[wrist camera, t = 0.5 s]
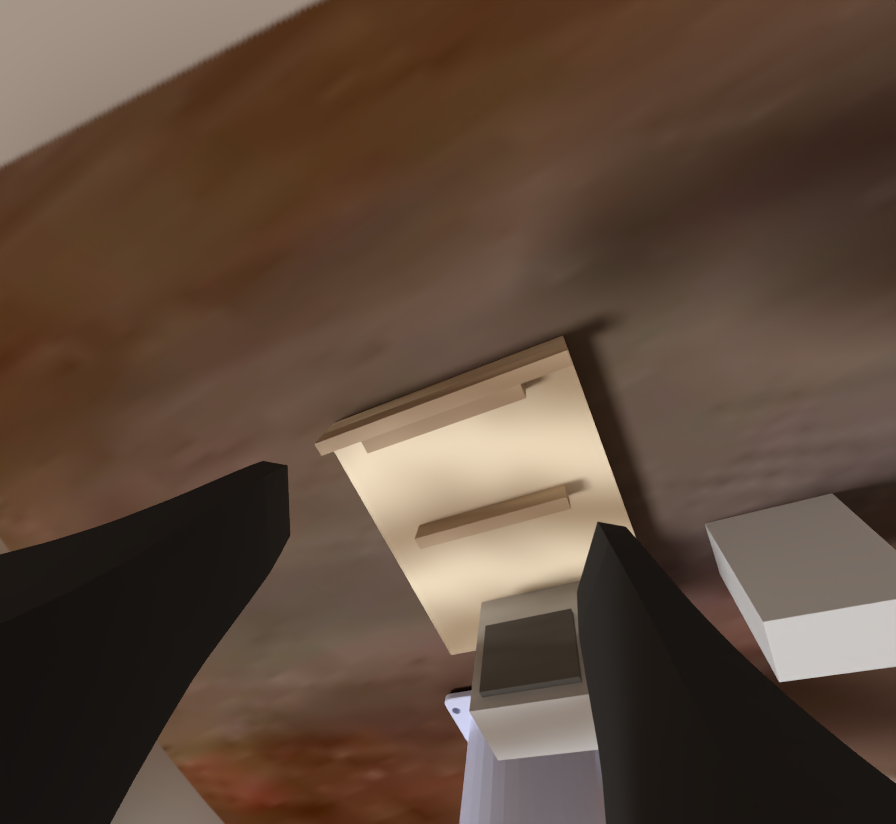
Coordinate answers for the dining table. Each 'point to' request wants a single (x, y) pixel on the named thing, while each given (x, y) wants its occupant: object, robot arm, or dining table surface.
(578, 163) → the dining table surface
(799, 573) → the white rectangular box
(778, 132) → the dining table surface
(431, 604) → the cream tray
